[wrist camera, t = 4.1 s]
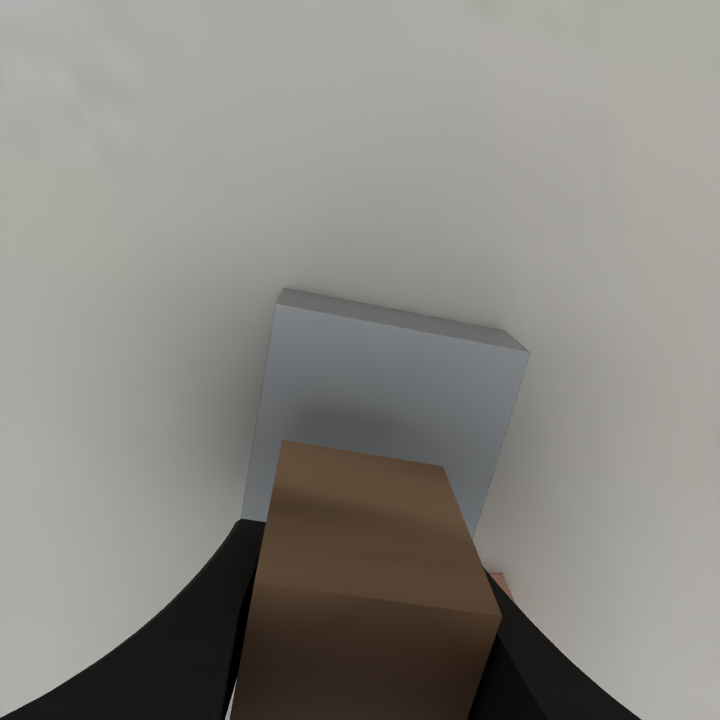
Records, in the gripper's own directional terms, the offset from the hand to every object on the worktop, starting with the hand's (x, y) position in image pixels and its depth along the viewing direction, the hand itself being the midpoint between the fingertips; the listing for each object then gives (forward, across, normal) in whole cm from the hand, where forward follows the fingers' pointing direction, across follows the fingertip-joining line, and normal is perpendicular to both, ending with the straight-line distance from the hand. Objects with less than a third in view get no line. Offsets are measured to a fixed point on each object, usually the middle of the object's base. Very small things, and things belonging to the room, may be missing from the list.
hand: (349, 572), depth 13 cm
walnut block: (+2, 0, 0) cm, 2 cm away
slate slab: (+9, -1, 0) cm, 9 cm away
